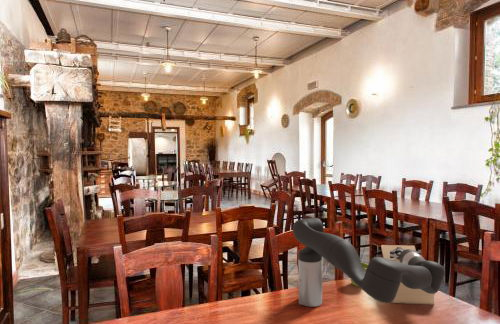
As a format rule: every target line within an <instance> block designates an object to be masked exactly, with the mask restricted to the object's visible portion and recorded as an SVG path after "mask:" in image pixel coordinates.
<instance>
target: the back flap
mask: <svg viewBox="0 0 500 324" xmlns="http://www.w3.org/2000/svg"><path fill="white" fill-rule="evenodd" d="M380 246H381V251H382V252H381V253H382V258H386V259H390V260H394V261H397V262H400V261H399V260H398V259H397V258H396V257H395V258H390V251H392V250H394V249H396V248H397V247H401V248H403V249H412V250H414V251H417V250H416V246H415V245H405V244H404V245H403V244H402V245H400V244H399V245H398V244H395V245H394V244H391V245H390V244H381V245H380Z"/></svg>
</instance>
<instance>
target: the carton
mask: <svg viewBox="0 0 500 324" xmlns="http://www.w3.org/2000/svg"><path fill="white" fill-rule="evenodd" d="M435 294H436V293H435ZM435 294H430V293H427V292H425V291H423V290H421V289H411V288H408V287H406V286H405V285H403V284H402V283H400V286H399V288H398V291H397V294H396V297H395V299H394V300H393V301H392V302H391V304H405V305H407V304H410V305H411V304H412V305H432V306H433V305H435Z"/></svg>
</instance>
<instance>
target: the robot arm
mask: <svg viewBox="0 0 500 324" xmlns="http://www.w3.org/2000/svg"><path fill="white" fill-rule="evenodd" d="M292 233H293V236H294V238H295V239H296V240H297V242H299V243H300V244H302V245H304V247H303V248H302V249H300V250H299V251H298V253H297V257H298V258H297V259H298V260H297V262H298V305H301V306H305V307H312V308H313V307H319V306H321V305H322V304H323V259H325V260H326V261H327V262H328V263H329V264H331V265H332V266H333V267H335V268H336V269H338V270H339V271H341V272H342V273H344V275H346V276H347V277H348V278H349V279H350V280H351V279H352V280H353V281H354V282H355V283H356V284H357V285H358V286H359V288H360V289H361V290H362V291H363V292H364V293H365V294H366V295H368V296H370V297H371V298H372V299H374V300H376V301H377V302H379V303H383V304H390V303H391V302H392V301H393V300H394V299H395V297H396V294H397V291H398V288H399V286H400V283H402V284H403V285H405V286H406V287H408V288H411V289H421V290H423V291H425V292H427V293H430V294H436V293H438V292H439V290H440V288H441V285H442V284H443V283H442V282H443V280H444V277H445V274H446V271H445V268H444V266H443V265H442V264H440V263H438V262H436V261H431V260H426V259H425V258H424V256H422V252H420V251H417V250H416V251H414V250H412V249H403V248H401V247H397V248H396V249H394V250H392V251H390V258H395V257H396V258H397V259H398V260H399V261H400V262H397V261H394V260H390V259H386V258H383V256H382V257H381V256H376V257H375V256H374V257H372V258H370V260H369V261H368V263H367V264H368V267H367V270H366V271H365V270H364V268H363V266H362V264H361V262H362V261H361V259H360V257H359V254H358V252H357V250H356V248H355V247H354V246H353V244H352V243H351V242H349V241H347V240H346V239H344V238H343V237H341V236H339V235H337V234H332V233H328V232H325V230H324V224H323V222H322V220H321V219H320V218H318V217H311V218H310V217H309V218H301V219H298V220H296V221H295V222H293V226H292ZM391 304H392V303H391Z"/></svg>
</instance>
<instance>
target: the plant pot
mask: <svg viewBox="0 0 500 324" xmlns="http://www.w3.org/2000/svg"><path fill="white" fill-rule="evenodd" d="M361 264H362V266H363V268H364V270H365V271H366V270H367V267H368V264H369V263H365V262H362V261H361ZM350 282H351V283H350V284H351V285H352V286H354V287H359V286H358V285H357V284H356V283H355V282H354V281H353V280H352V279H351V278H350ZM359 288H360V287H359Z"/></svg>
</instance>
